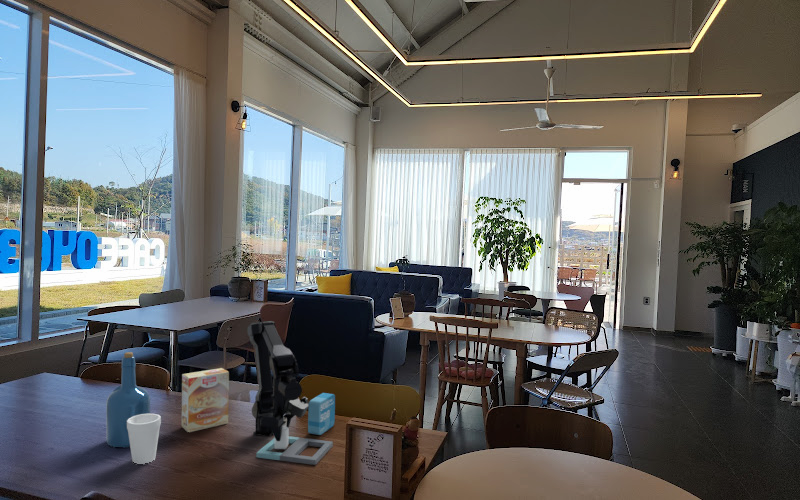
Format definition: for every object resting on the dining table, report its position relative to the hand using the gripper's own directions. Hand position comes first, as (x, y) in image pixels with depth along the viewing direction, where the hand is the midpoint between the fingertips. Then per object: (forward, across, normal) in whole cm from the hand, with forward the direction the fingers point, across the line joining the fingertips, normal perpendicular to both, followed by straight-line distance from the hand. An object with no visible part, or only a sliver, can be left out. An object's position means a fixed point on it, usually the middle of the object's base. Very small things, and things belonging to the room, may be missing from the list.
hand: (281, 438), depth 177 cm
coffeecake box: (+4, +12, +36) cm, 38 cm away
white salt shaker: (+3, 0, 0) cm, 3 cm away
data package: (+4, +20, -6) cm, 21 cm away
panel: (+4, 0, -5) cm, 6 cm away
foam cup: (+4, -19, +37) cm, 42 cm away
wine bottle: (+4, -8, +52) cm, 53 cm away
